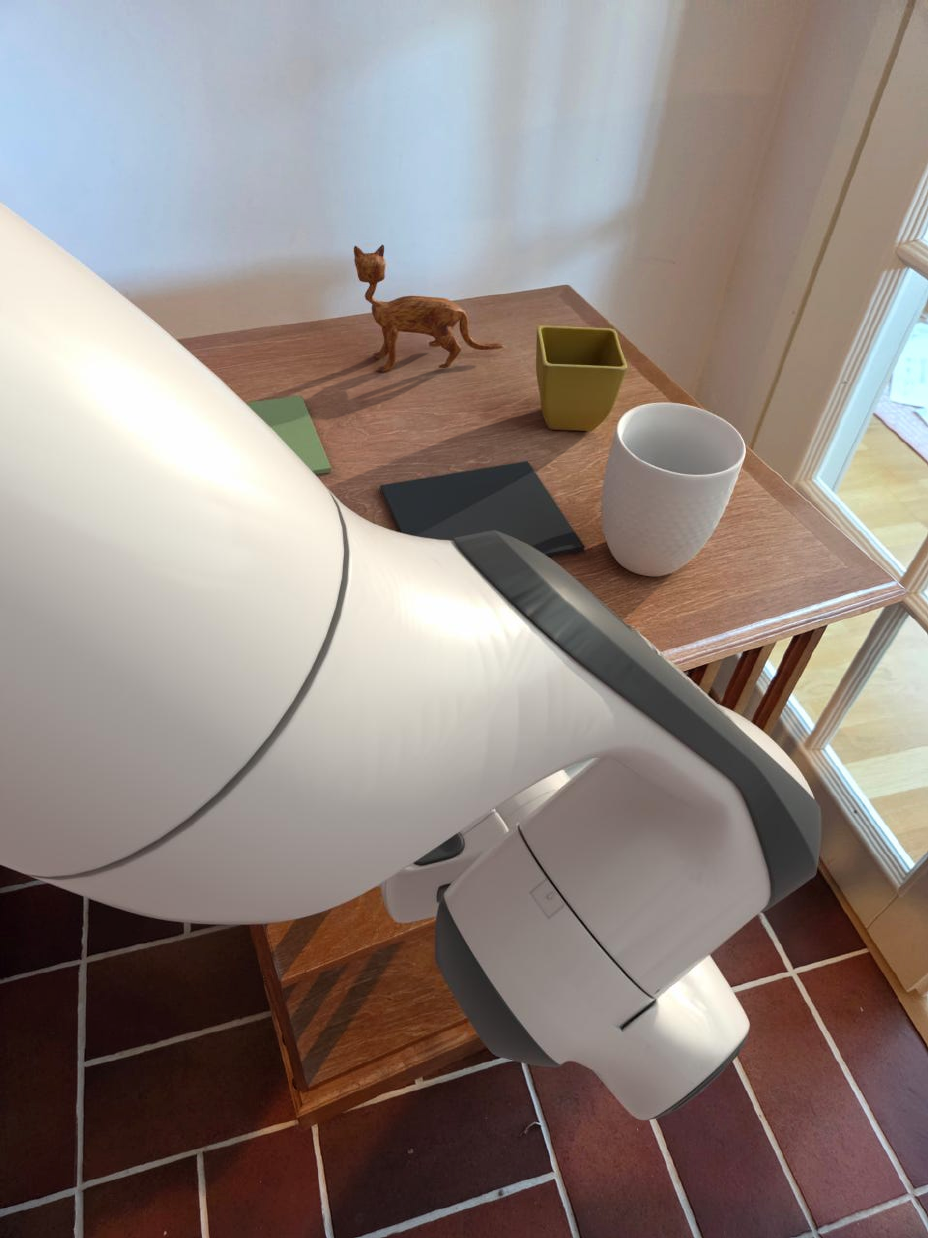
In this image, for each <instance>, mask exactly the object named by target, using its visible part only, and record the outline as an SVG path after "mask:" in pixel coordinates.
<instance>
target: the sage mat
mask: <svg viewBox="0 0 928 1238" xmlns="http://www.w3.org/2000/svg"><path fill="white" fill-rule="evenodd" d="M245 403H246V404H247V405H248V406H249V407H250V408H251V409H252V410H253V411H254V412H255V413H256V414H257V415H258V416H259V417H260V418H261V419H262V420H263V421H264V422H265V423H266V424H267V425H268V426H269V427H271V428H272V429H273V430H274V431H275V432H276V434H277V435H278V436H279V437H280V438H281V439H282V440H283V441H284V442H285V443H286V444H287V445H288V446H289V447H290V448H291V449H292V451H293V452H294V453H295V454H296V455H297V456H298V457H299V458H300V459H301V460H302V461H303V462H304V463H305V464H306V465H307V466H308V468H309V469H310V470H311V471H312V472H313V473H314V474H315V475H316V476H318V475H322V474H330V473H332V467H331V465H330V461H329V459H328V457H327V454H326V452H325V449H324V448H323V445H322V442H321V439H320V436H319V435H318V432H317V430H316V428H315V425H314V422H313V420H312V418H311V415H310V412H309V410H308V408H307V406H306V403H305V401H304V398H303V396H302V395H294V396H287V397H279V398H271V399H264V400H256V401H248V402H245Z"/></svg>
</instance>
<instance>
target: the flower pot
mask: <svg viewBox="0 0 928 1238" xmlns="http://www.w3.org/2000/svg"><path fill="white" fill-rule="evenodd" d="M535 350H536V352H535V353H536V354H535V372H536V380H537V387H538V392H539V398H540V405H541V412H542V416H543V419H544V421H545V424H546V425H547V428H548V429H550V430H554V431H555V430H556V431H581V432H582V431H583V432H592V431H594V430H596V428H598V427H599V426H600V425H601V424H602V423H603V422H605V420H607V418H608V417H609V415H610V413H611V412H612V410H613V408H614V406H615V404H616V401H617V398H618V395H619V393H620V390H621V387H622V385H623V382H624V379H625V376H626V373H627V370H628V364H627V360H626V359H625V356H624V353H623V351H622V348H621V344H620V339H619V336H618V333H617V331H616V329H615V328H609V327H608V328H607V327H604V328H603V327H585V326H565V325H563V326H562V325H538V326H537V327H536V349H535Z"/></svg>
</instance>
